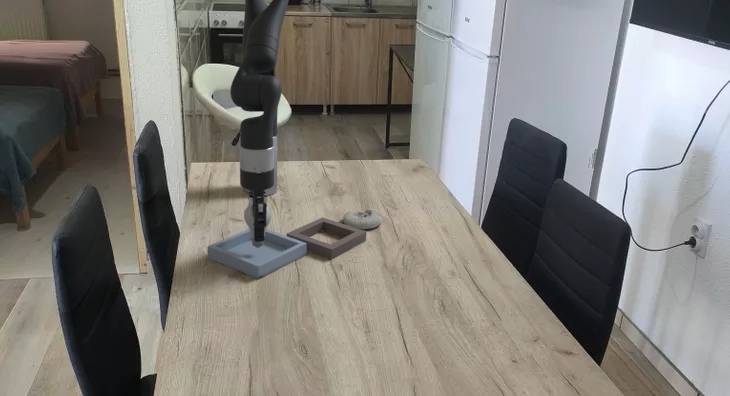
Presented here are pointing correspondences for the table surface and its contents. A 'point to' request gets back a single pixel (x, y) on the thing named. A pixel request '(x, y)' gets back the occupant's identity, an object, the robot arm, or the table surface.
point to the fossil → (363, 219)
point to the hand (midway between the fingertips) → (257, 235)
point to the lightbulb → (250, 221)
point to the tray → (257, 252)
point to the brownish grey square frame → (324, 249)
